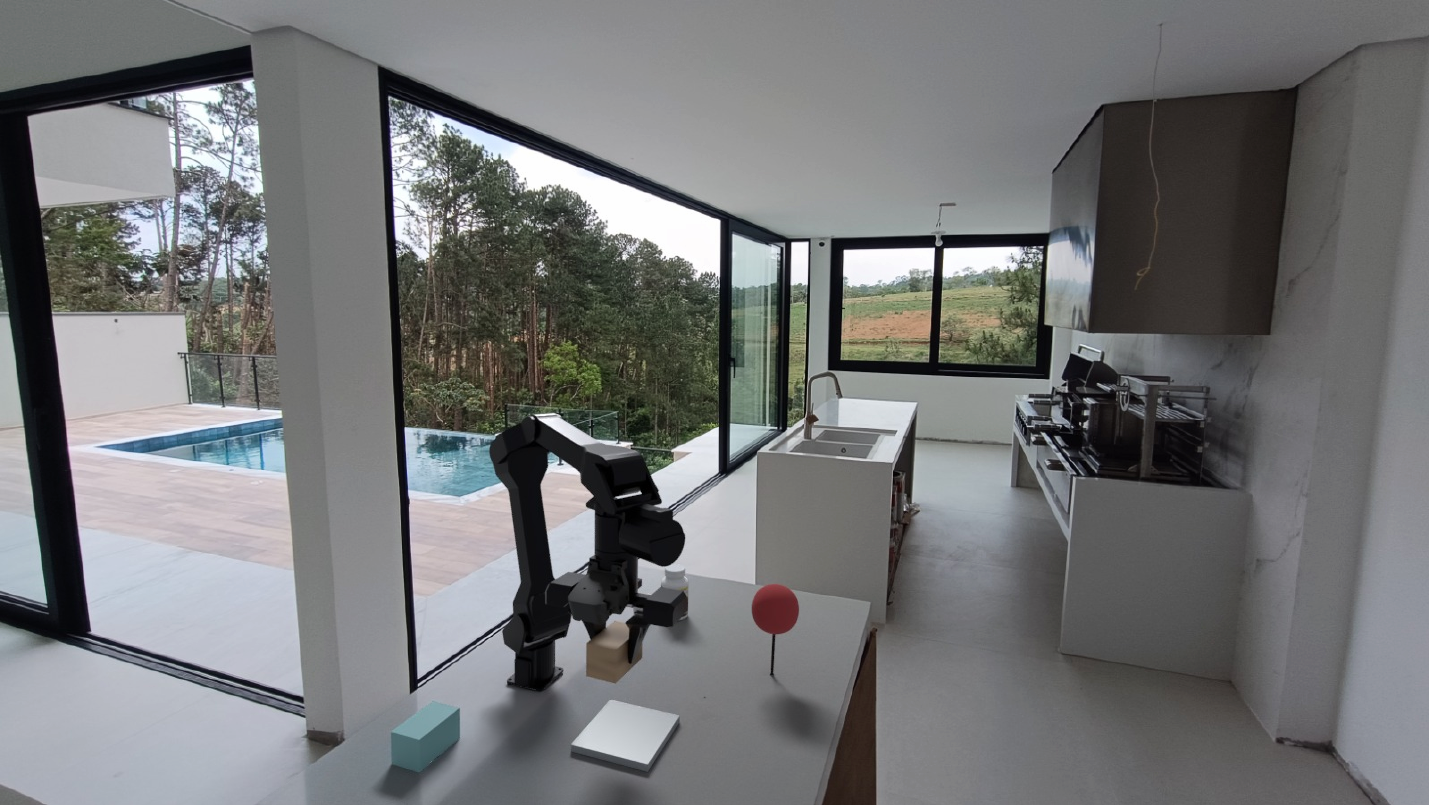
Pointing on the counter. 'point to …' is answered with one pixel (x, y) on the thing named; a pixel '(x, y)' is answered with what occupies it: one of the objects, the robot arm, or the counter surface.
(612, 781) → the counter surface
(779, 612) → the lollipop
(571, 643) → the counter surface
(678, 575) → the supplement bottle
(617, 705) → the base plate
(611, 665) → the walnut brick
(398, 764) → the teal brick
